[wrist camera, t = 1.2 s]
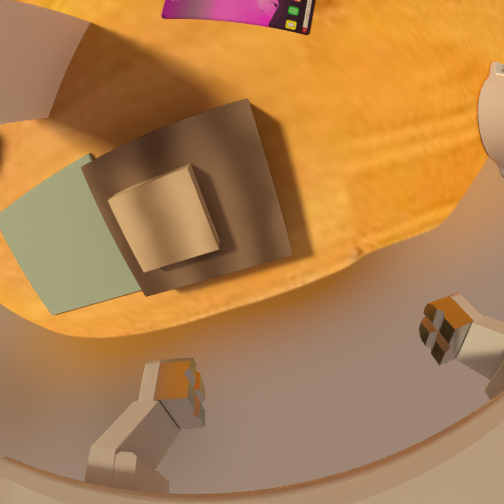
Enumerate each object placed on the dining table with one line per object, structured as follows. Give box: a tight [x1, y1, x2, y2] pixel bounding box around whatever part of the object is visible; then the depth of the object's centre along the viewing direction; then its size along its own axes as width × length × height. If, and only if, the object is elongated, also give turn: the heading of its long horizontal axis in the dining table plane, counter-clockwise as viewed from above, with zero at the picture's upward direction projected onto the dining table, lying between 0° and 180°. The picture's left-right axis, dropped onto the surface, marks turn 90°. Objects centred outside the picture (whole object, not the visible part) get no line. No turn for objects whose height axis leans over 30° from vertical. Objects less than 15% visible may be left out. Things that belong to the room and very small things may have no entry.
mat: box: [0, 153, 142, 315], centre depth 31 cm, size 20×18×1 cm
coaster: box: [108, 163, 220, 272], centre depth 25 cm, size 8×8×2 cm
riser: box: [81, 98, 293, 297], centre depth 28 cm, size 17×16×4 cm
